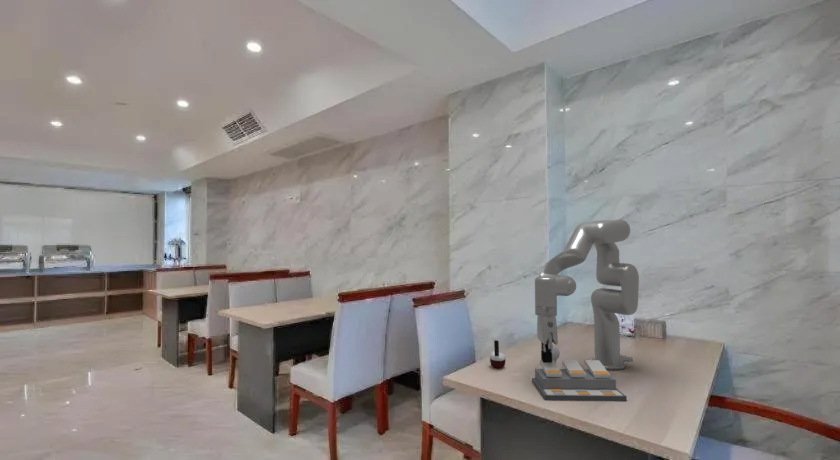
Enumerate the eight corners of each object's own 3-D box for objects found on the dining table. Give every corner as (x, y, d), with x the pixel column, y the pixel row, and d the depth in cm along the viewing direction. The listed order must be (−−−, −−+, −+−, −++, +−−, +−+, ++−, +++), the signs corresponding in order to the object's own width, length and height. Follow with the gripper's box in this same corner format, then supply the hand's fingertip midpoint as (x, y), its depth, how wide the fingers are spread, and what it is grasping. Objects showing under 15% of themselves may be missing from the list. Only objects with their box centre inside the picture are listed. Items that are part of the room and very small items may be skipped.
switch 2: (576, 363, 138) (576, 360, 137) (585, 377, 129) (586, 373, 129) (562, 363, 138) (562, 359, 138) (570, 377, 129) (571, 373, 129)
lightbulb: (559, 371, 151) (559, 343, 151) (560, 376, 145) (559, 347, 145) (543, 369, 153) (542, 341, 153) (542, 374, 147) (542, 346, 147)
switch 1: (553, 363, 138) (553, 360, 138) (561, 376, 129) (562, 373, 129) (539, 363, 138) (539, 360, 138) (546, 376, 129) (547, 372, 129)
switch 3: (598, 363, 137) (599, 359, 137) (609, 378, 129) (610, 374, 128) (584, 363, 138) (584, 359, 137) (594, 378, 129) (595, 374, 128)
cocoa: (495, 364, 161) (495, 335, 162) (509, 366, 157) (508, 337, 158) (484, 369, 154) (484, 339, 155) (499, 372, 150) (498, 340, 151)
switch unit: (604, 382, 138) (604, 368, 139) (626, 401, 122) (626, 385, 123) (532, 382, 139) (531, 368, 140) (544, 400, 123) (544, 384, 124)
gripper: (563, 314, 130) (564, 369, 130) (550, 307, 146) (550, 355, 145) (541, 314, 131) (542, 369, 130) (530, 307, 146) (530, 355, 145)
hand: (546, 361), depth 138 cm, fingers closed
